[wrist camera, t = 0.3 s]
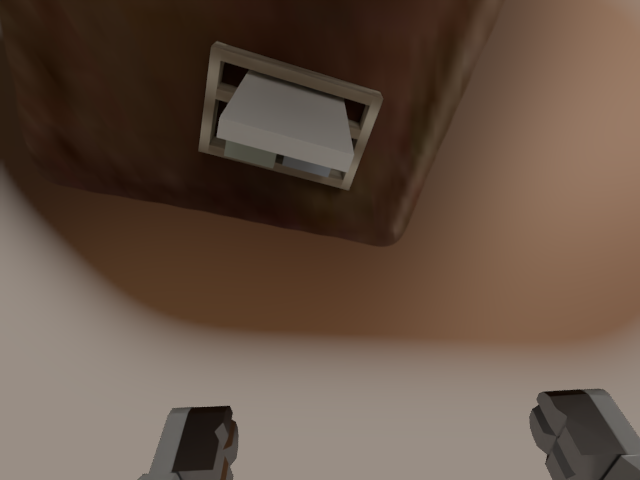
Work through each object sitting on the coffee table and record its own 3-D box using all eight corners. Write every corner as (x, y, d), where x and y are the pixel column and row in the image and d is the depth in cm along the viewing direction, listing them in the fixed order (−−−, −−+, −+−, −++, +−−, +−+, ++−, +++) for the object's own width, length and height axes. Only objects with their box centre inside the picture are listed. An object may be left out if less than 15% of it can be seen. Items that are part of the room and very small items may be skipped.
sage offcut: (238, 105, 50) (228, 123, 45) (284, 118, 51) (280, 138, 46) (233, 134, 53) (223, 155, 47) (277, 146, 54) (273, 168, 48)
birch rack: (216, 41, 46) (211, 46, 44) (380, 91, 49) (383, 98, 47) (203, 142, 53) (198, 151, 51) (347, 180, 57) (348, 190, 54)
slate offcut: (292, 120, 52) (289, 135, 47) (335, 132, 53) (337, 148, 48) (285, 148, 54) (282, 165, 49) (327, 159, 55) (327, 177, 50)
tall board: (249, 68, 48) (219, 117, 33) (343, 97, 50) (354, 154, 35) (246, 83, 49) (216, 137, 34) (339, 110, 51) (347, 172, 36)
